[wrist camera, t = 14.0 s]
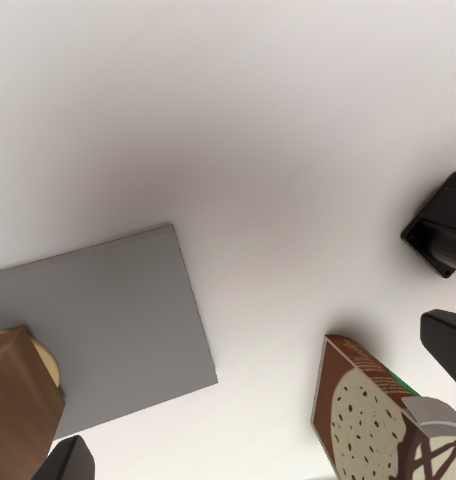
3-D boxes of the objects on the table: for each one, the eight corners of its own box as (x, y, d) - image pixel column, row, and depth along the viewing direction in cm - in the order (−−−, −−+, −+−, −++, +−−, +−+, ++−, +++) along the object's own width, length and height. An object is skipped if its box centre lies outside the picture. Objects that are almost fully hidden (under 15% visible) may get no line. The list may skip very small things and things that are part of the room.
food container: (365, 423, 29) (462, 554, 20) (308, 434, 28) (383, 580, 18) (391, 313, 25) (525, 410, 16) (327, 319, 24) (433, 429, 15)
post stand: (172, 224, 19) (177, 252, 14) (214, 368, 23) (229, 427, 18) (-105, 298, 17) (-213, 362, 12) (-3, 442, 21) (-52, 532, 16)
